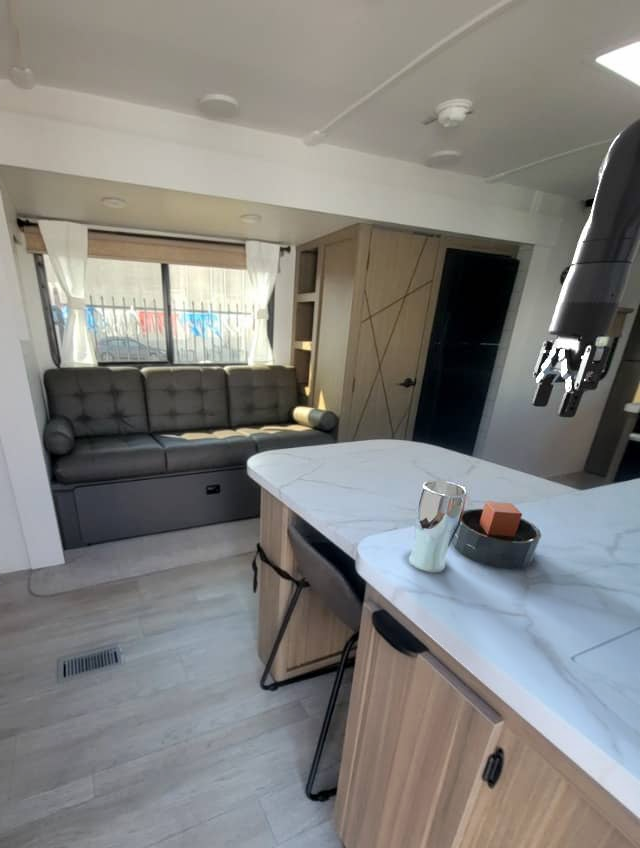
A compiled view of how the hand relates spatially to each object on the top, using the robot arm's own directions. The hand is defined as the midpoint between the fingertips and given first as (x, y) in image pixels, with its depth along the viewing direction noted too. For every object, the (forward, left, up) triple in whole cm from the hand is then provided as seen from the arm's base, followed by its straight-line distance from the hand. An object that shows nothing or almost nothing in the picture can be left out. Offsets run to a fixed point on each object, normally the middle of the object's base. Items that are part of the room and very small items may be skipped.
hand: (551, 411), depth 67 cm
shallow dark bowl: (+4, +3, -26) cm, 26 cm away
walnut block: (+4, +3, -26) cm, 26 cm away
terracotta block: (+4, +3, -21) cm, 22 cm away
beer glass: (+17, +10, -26) cm, 33 cm away
